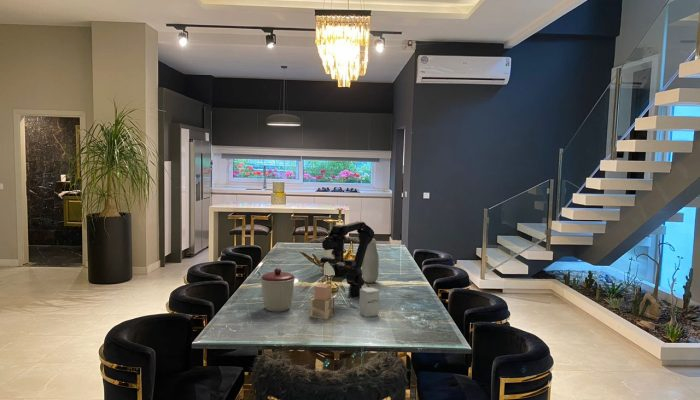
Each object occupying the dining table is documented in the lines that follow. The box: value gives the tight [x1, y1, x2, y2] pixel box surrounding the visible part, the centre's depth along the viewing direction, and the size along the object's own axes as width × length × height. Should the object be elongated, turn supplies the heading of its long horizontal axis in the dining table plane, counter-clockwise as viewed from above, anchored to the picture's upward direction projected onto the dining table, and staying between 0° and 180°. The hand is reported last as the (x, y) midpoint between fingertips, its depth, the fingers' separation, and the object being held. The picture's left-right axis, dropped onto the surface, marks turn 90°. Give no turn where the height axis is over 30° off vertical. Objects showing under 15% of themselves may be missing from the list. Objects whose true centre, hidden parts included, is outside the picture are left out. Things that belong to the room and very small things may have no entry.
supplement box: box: [358, 286, 380, 318], centre depth 248 cm, size 7×7×13 cm
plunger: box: [314, 283, 332, 301], centre depth 245 cm, size 6×6×14 cm
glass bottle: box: [361, 238, 380, 284], centre depth 310 cm, size 10×10×28 cm
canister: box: [259, 267, 296, 313], centre depth 254 cm, size 18×18×21 cm
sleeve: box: [309, 296, 335, 320], centre depth 245 cm, size 8×9×9 cm
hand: (337, 277), depth 268 cm, fingers closed
